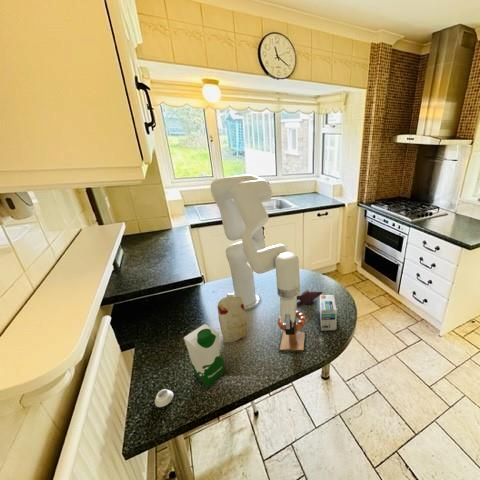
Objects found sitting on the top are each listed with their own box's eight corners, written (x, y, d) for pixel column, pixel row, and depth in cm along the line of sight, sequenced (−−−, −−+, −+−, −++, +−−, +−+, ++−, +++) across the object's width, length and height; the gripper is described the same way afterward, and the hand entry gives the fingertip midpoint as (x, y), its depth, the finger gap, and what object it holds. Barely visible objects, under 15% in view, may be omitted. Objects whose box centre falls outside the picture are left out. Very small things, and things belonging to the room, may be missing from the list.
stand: (279, 352, 97) (278, 330, 92) (283, 334, 105) (281, 313, 101) (303, 352, 97) (303, 330, 92) (305, 334, 105) (304, 313, 101)
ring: (275, 333, 92) (275, 328, 91) (280, 313, 101) (279, 308, 100) (304, 333, 92) (304, 328, 91) (306, 313, 101) (306, 308, 100)
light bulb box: (336, 330, 107) (337, 310, 103) (320, 331, 107) (321, 310, 102) (333, 313, 117) (334, 294, 112) (319, 313, 117) (319, 294, 112)
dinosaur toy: (318, 283, 128) (290, 293, 122) (324, 288, 121) (294, 298, 116) (320, 296, 129) (292, 306, 124) (326, 301, 122) (297, 312, 117)
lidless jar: (154, 397, 81) (156, 411, 77) (152, 391, 79) (153, 404, 76) (172, 389, 83) (174, 402, 79) (170, 383, 82) (172, 395, 78)
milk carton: (207, 391, 83) (195, 346, 74) (191, 376, 87) (178, 332, 79) (229, 371, 89) (221, 328, 81) (214, 359, 94) (204, 316, 86)
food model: (224, 349, 98) (216, 307, 90) (222, 337, 104) (214, 297, 95) (250, 340, 102) (244, 300, 94) (246, 329, 108) (241, 290, 99)
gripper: (280, 275, 93) (283, 315, 100) (273, 304, 78) (277, 348, 86) (301, 275, 93) (302, 315, 100) (297, 304, 78) (299, 348, 86)
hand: (290, 330), depth 93 cm, fingers closed on ring, 2 cm apart
